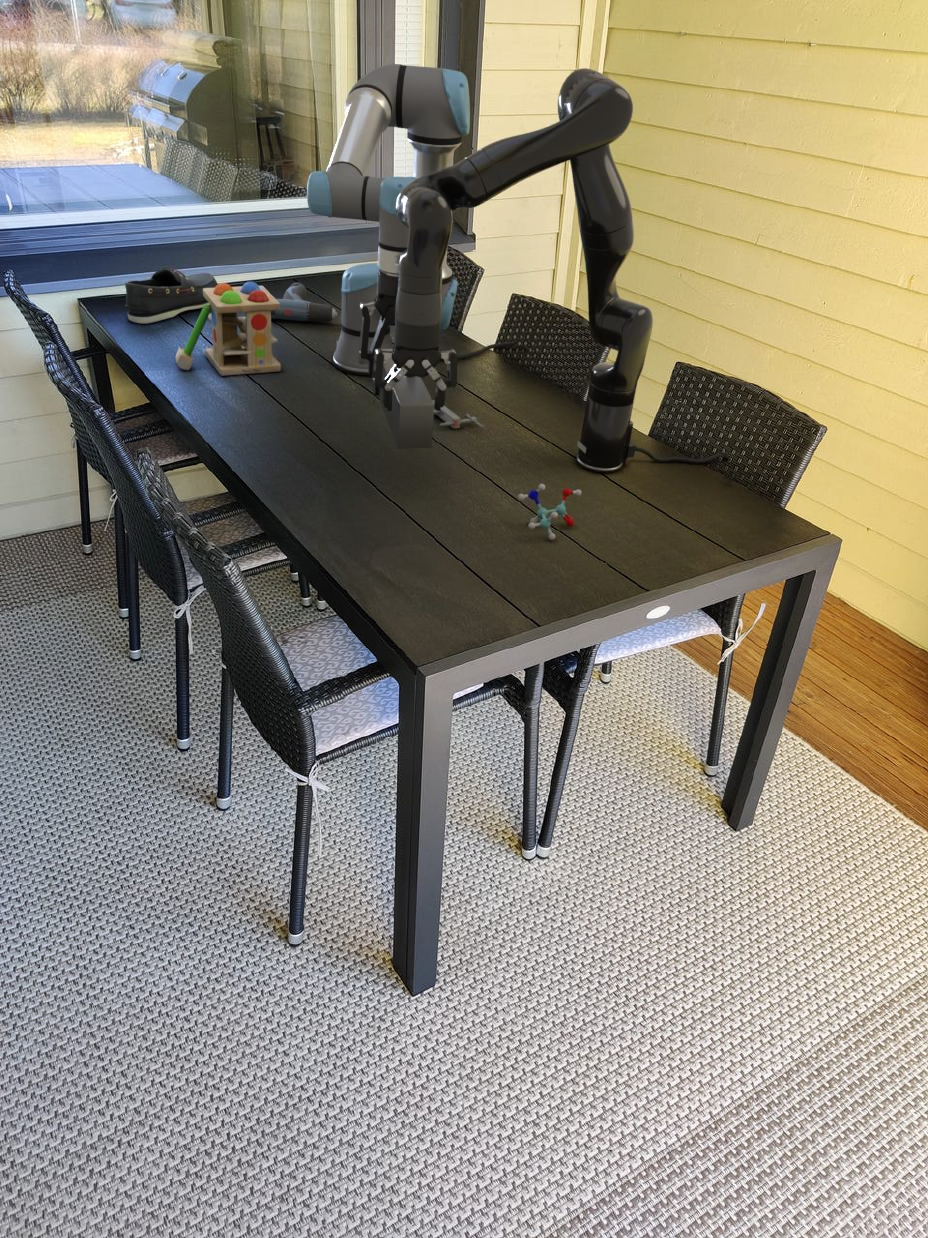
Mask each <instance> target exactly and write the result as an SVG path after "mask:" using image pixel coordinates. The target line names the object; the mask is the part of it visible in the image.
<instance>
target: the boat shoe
mask: <svg viewBox="0 0 928 1238" xmlns="http://www.w3.org/2000/svg"><path fill="white" fill-rule="evenodd" d="M217 285H218V281H217V280H216V278H215V277H214V275H213V274H211V273H208V272H202V273H196V274H191V275H187V276H186V275H185V273H183V272H181V271H180V270H177V269H175V268H170V267H166V266H165V267H162V268H160V269H158V270H157V271H155V272H154V273H153V274H152V276H151V277H150V278H149V279H141V280H127V281H126V282H125V283H124V287H125V293H126V294H125V295H126V296H125V301H126V302H125V304H124V308H126V309H127V319H128V320H129V322H133V323H137V324H152V323H155V322H160V321H163V320H167V319H170V318H174V317H175V316H177V315H179V314H180V313H183V312H185V311H190V310H197V309H203V307H204V305H208V306H211V305H210V304H209V302H208V301H207V300H206V299H205V297H204V296H203V289H204V288H215V287H216V286H217Z"/></svg>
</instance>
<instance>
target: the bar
mask: <svg viewBox="0 0 928 1238" xmlns="http://www.w3.org/2000/svg"><path fill="white" fill-rule="evenodd" d="M381 350H382V351H392V350H393V349H381ZM394 365H395V363H394V361H393V360H392V358H390V359H389V360H388V362H387V364H385V365H383V373H382V378H383V379H385V378H386V377H387V375H388V374H389V373H390V370H391V369H392V368H393V366H394ZM392 391H393V394H392V411H387V408H385V407H384V404H383V389H382V388H380V387H379V396H377V397H378V400H379V402H380V405H381V407H382V411H383V413H384V415H385V418H386V421H387V423H388V426H389V428H390V432H391V433H392V436H393V439H394V441H395V445H396V447H397V449H399V450H402V449H403V450H405V449H408V450H409V449H432V448H433V436H434V435H433V432H434V417H435V414H434V403H433V401H432V400H433V399H432V397H431V394H430V393H429V390H428V389H427V387H426V385H425V382H424V381H423V379H422V378H421V377H417V376H416V377H412V378H407V376H403V377H402V379H401V380H400V381H399V382H397V383H396V384H395V385H394V387H393V388H392Z"/></svg>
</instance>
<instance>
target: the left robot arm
mask: <svg viewBox="0 0 928 1238" xmlns="http://www.w3.org/2000/svg"><path fill="white" fill-rule="evenodd" d="M344 116H345V117H344V120H343V123H342V126H341V128H340V132H339V135H338V137H337V140H336V142H335V146H334V148H333V151H332V154H331V157H330V159H329V163H328V165H327V168H326V171H325V170H315V171H312V172H311V173H310V174H309V176H308V180H307V186H306V188H307V189H306V200H307V201H306V202H307V207H308V209H309V211H310V212H311V214H313V215H317V216H324V217H328V218H330V219H331V218H337V219H338V218H339V219H347V220H348V219H349V220H357V221H358V220H360V221H367V222H375V223H378V249H377V251H378V252H377V262H370V263H361V264H356V265H352V266H351V267H348V268H346V270H345V271H344V272H343V274H342V277H341V278H342V281H341V288H340V292H341V319H340V321H341V324H340V325H341V326H340V329H341V330H340V336H339V338H338V340H336V348H335V350H334V352H333V361H332V362H333V363H332V364H333V366H334V367H335V368H337V369H338V370H339V371H342V372H344V373H347V374H352V375H356V376H369V378H370V379H372V377H373V366H374V355H375V350H376V349H377V348H380V349H393V348H394V343H393V341H392V337H391V336H392V335H391V326H393V327H395V307H396V298H397V292H398V279H399V261H400V257H401V254H402V253H403V251H405V250H406V249H407V247H408V240H409V228H407V227H406V226H405V225H404V224H403V223H402V222H401V221H400V220H399V218H398V216H397V213H396V201H397V198H398V195H399V194H400V192H401V191H402V190H403V189H404V188H405V187H406V186H407V185H408V184H409V183H411V182H412V181H414V180H416V179H418V178H420V177H422V176H425V175H427V174H430V173H433V172H435V171H438V170H441V169H444V168H447V167H450V166H453V165H454V155H455V154H454V153H455V151H456V150H457V149H458V148H459V147H460V146H461V145H462V142H463V136H464V137H465V136H468V135H469V133H470V128H471V127H470V126H471V101H470V87H469V82H468V78H467V76H466V75H465V73H464V72H461V71H459V70H454V69H448V68H443V67H432V66H431V67H430V66H420V65H419V66H418V65H408V64H407V65H406V64H400V63H398V64H397V63H392V64H391V63H390V64H386V65H382V66H379V67H376V68H374V69H372V70H371V71H369V72H368V73H366V74H364V75H363V76H361V78H359V80H357V81H356V82H355V84H354V85H353V86H352V87H351V89H350V90H349V92H348V95H347V97H346V99H345V102H344ZM387 128H398V129H405V130H407V131H406V139H407V141H408V143H409V144H410V145H411V146H412V148H413V158H412V176H390V177H377V176H369V174H370V170H371V167H372V164H373V160H374V158H375V154H376V151H377V147H378V145H379V141H380V138H381V135H382V133H384V132H385V131H386V130H387ZM447 257H448V250H447V251H446V254H445V257H444V260H443V271H442V287H441V297H442V311H441V327H440V331H444V330H446V329H448V328H449V325H450V323H451V318H452V314H453V309H454V305H455V300H456V296H457V290H458V285H459V282H458V280H456V279H455V278H453V270H452V268H451V267H450V266H448V264H447ZM514 342H515V341H506V342H500V343H493V344H489V345H486V346H485V347H482V348H481V349H478V350H474V351H471V352H468V353H464V354H459V355H458V354H457V361H458V360H464V359H469V358H472V357H475V356H478V355H482V354H484V353H485V352H487V351H489V350H492V349H497V348H505V347H514V346H513V345H514ZM518 347H519V348H521V349H523V350H524V351H526V352H528V351H530V349H529V348H528V349H526V348H524V347H521V346H518ZM440 361H444V359H442V358H441V360H440ZM372 391H373V395H374V396H377V397H378V396H379V387H375V385H374V382H373V381H372Z"/></svg>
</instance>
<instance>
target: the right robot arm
mask: <svg viewBox="0 0 928 1238" xmlns="http://www.w3.org/2000/svg"><path fill="white" fill-rule="evenodd" d="M633 114H634V103H633V100H632V97H631V95H630V93H629V92H628V91H627V90H626V89H625V88H624V87H623V86H622V85H620V84H619V83H617V81H614V80H613V79H611V78H610V77H608V76H607V75H605V74H603V73H601V72H600V71H597V70H595V69H592V68H587V67H585V68H583V67H582V68H578V69H576V70H574V71H572V72H571V73H570V74H568V76H567V77H566V78H565V80H564V81H563V82H562V85H561V87H560V90H559V93H558V98H557V116H558V121H557V122H555V123H552V124H550V125H548V126H545V127H543V128H540V129H537V130H532V131H530V132H526V133H521V134H516V135H512V136H508V137H504V138H501V139H499V140H496V141H493V142H491V143H489V144H487V145H484V146H483V147H482V148H479V149H478V150H476V151H474V152H473V153H471V154H469V155H468V156H466V157H464V158H463V159H461V160H459V161H458V162H457V163H455V164H453V166H450V167H447V168H444V169H441V170H438V171H435V172H433V173H430V174H427V175H425V176H422V177H420V178H418V179H416V180H414V181H412V182H411V183H409V184H408V185H407V186H406V187H405V188H404V189H403V190H402V191H401V192H400V194H399V195H398V198H397V201H396V213H397V216H398V218H399V220H400V221H401V222H402V223H403V224H404V225H405V226H406V227H407V228H409V240H408V247H407V249H406V250H405V251H403V253H402V254H401V257H400V261H399V279H398V292H397V298H396V307H395V326H394V337H393V338H394V341H393V342H394V343H393V347H394V348H393V350H392V351H382V350H381V349H380V348H377V349H376V350H375V355H374V366H373V377H372V378H371V379H372V383H373V382H374V385H375V387H380V388H382V389H383V404H384V407H385V408H387V411H392V394H393V391H392V388H393V387H394V385H395V384H396V383H397V382H399V381H400V380H401V379H402V377H403V376H407V378H412V377H416V376H417V377H421V379H422V378H426V377H427V376H429V377H431V379H432V381H433V382H434V383H435V384H436V386H435V389H434V400H435V402H434V407H435V409H436V411H440V410H441V407H443V406H445V403H446V402H445V401H446V390H447V389H449V388H456V387H457V386H458V360H457V356H458V354H457V352H456V351H455V349H454V348H448V349H447V350H442V351H441V350H440V339H441V330H440V327H441V311H442V297H441V287H442V271H443V260H444V257H445V254H446V251H447V252H448V247H449V244H450V238H451V235H452V230H453V212H454V211H456V210H459V209H461V208H465V209H473V208H476V207H479V206H480V205H483V204H485V203H486V202H488V201H489V200H491V199H494V197H495V198H496V196H498V195H500V194H502V193H504V192H505V191H507V190H508V189H510V188H512V187H513V186H515V185H517V184H519V183H520V182H523V181H524V180H526V179H529V178H531V177H533V176H535V175H537V174H539V173H541V172H544V171H546V170H549V169H551V168H553V167H556V166H558V165H561V164H563V163H566V162H568V161H569V163H570V170H571V175H572V183H573V191H574V197H575V204H576V210H577V211H576V212H577V219H578V222H577V223H578V228H579V235H580V241H581V248H582V252H583V258H584V265H585V267H584V268H585V274H586V275H585V276H586V285H587V307H588V311H587V312H588V326H589V332H590V336H591V337H592V339H593V341H594V342H595V343H597V344H598V345H600V346H602V347H605V348H607V349H610V350H614V351H616V352H617V354H616V358H615V361H604V362H600V363H597V364H595V365H594V366H593V367H592V369H591V372H590V376H589V377H590V378H589V383H588V389H587V396H586V403H585V407H584V408H585V409H584V415H583V420H582V421H583V422H582V427H581V434H580V440H577V444H576V445H577V448H578V451H577V454H576V463H577V464H578V465H579V466H580V467H581V468H583V469H584V470H587V471H590V472H595V473H601V474H612V473H615V472H618V471H620V470H621V469H622V468H623V467H626V464H627V459H629V458H634V457H635V453H636V452H639V453H642V454H644V455H646V456H648V457H649V458H650V459H651V460H653V461H655V462H659V463H668V462H669V463H670V462H682V463H690V464H704V463H708V462H711V461H713V460H716V459H718V458H724V459H725V460H726V461H731V458H730V456H729V455H727V456H725V457H722V454H721V452H720V453H719V452H718V453H716V454H713V455H711V456H708V457H705V458H700V459H699V458H698V459H696V458H688V457H680V456H671V457H664V458H663V457H657V456H655V455H654V454H652V453H651V452H650V451H649V450H647V449H645V448H641V447H638V446H637V444H635V443H634V442H632V441H631V439H632V433H633V429H634V428H633V427H634V423H633V421H632V420H631V418H632V413H633V409H634V403H635V397H636V392H637V386H638V381H639V379H640V376H641V374H642V373H643V372H642V371H643V369H644V366H645V361H646V356H647V353H648V348H649V344H650V340H651V337H652V333H653V332H652V331H653V325H654V318H653V313H652V311H651V308H649V307H648V306H645V305H642V304H639V303H637V302H633V301H630V300H628V299H625V298H621V297H620V295H619V293H618V288H617V275H618V273H619V271H620V269H621V268H622V266H623V264H624V263H625V262H626V260H627V258H628V257H629V255H630V253H631V251H632V248H633V246H634V242H635V230H634V229H635V228H634V219H633V218H634V217H633V210H632V205H631V199H630V196H629V194H628V191H627V189H626V186H625V184H624V181H623V179H622V176H621V173H620V172H619V169H618V167H617V165H616V163H615V160H614V157H613V155H612V151H611V147H610V144H612V143H614V142H616V141H617V140H618V139H620V138H621V137H622V136H623V134H625V132H626V131H627V130H628V128H629V126H630V123H631V121H632V118H633ZM390 358H392V360H393V361H394V363H395V365H394V366H393V368H392V369H391V370H390V373H389V374H388V375H387V377H386V378H385V379H383V378H382V373H383V365H385V364H387V362H388V360H389V359H390ZM441 358H442V359H444V360H443V362H444V364H445V365H447V366H446V367H447V368H446V369H447V377H445V378H442V376H441V375H440V373H439V372H438V370H437V369H436V366H437V365H438V364H439V363H440V361H442V360H441Z"/></svg>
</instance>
